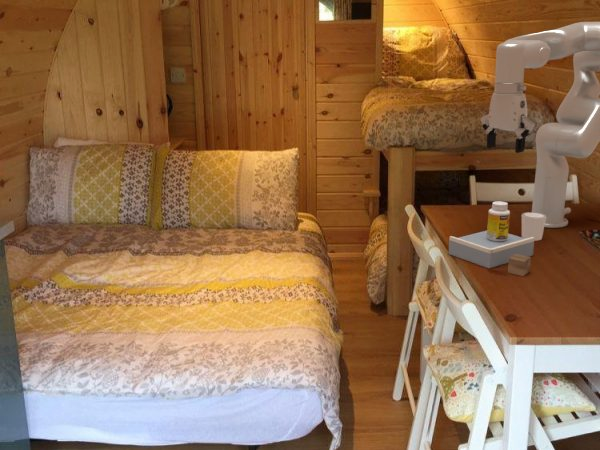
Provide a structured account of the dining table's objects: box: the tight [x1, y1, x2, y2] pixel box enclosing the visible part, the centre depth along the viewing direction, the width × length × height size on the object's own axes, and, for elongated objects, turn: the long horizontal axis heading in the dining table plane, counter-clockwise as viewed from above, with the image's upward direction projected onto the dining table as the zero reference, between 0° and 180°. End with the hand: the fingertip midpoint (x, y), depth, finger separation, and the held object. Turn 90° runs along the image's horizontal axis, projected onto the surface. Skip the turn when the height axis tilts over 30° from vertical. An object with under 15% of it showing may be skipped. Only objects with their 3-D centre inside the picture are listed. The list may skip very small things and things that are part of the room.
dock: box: [448, 230, 535, 269], centre depth 175 cm, size 18×14×5 cm
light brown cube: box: [507, 254, 532, 277], centre depth 162 cm, size 4×4×4 cm
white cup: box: [521, 211, 546, 242], centre depth 189 cm, size 7×7×7 cm
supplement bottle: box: [486, 200, 511, 242], centre depth 174 cm, size 6×6×10 cm
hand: (505, 149), depth 183 cm, fingers open, 9 cm apart
